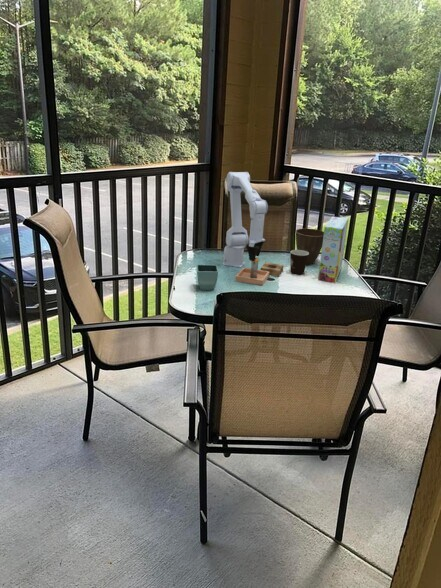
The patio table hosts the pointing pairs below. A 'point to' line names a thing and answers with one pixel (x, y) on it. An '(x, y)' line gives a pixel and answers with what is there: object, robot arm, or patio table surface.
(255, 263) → the pin
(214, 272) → the flower pot
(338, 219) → the snack box
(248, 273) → the dish
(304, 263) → the coffee mug
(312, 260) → the plant pot
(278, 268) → the block
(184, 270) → the patio table surface
